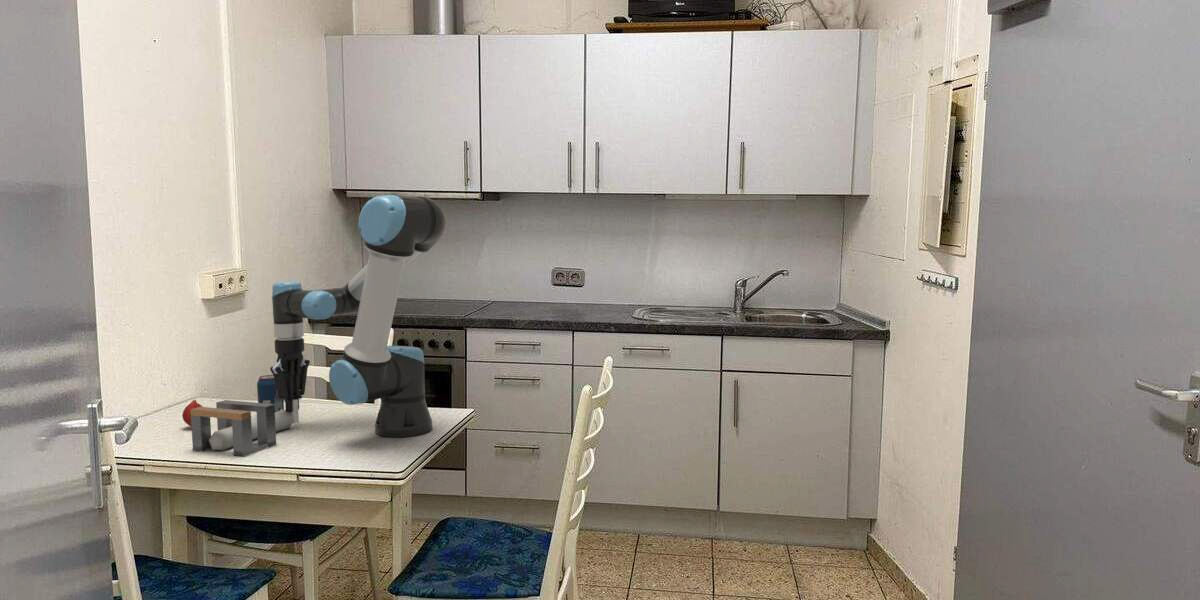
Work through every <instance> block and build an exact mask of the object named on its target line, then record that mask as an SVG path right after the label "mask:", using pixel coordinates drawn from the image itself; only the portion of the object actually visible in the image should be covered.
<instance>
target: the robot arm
mask: <svg viewBox="0 0 1200 600" xmlns="http://www.w3.org/2000/svg"><path fill="white" fill-rule="evenodd" d="M361 208H362V209H361V211H360V213H359V218H358V229H359V230H360V232H359V234H360V236H361V238H362V239H363V240H364V248H366V250H367V251H368V253H369V255H368V261H367V264H366V265H364V267H363V268H362V269H361V270H359V272H357V274H355V276H354V277H352V278H351V279H350V280H349V282H348V283H347V284H345V285H344V286H342V287H337V288H327V289H313V290H309V289H305V290H304V289H303V288H302V283H301V282H300V281H277V282H274V283H273V284H272V290H271V291H272V292H271V293H272V296H271V300H272V302H271V303H272V313H273V314H272V316H273V329H274V331H273V333H274V334H273V335H274V338H275V340H274V353H276V354H277V358H276V364H275V365H274V366H270V367H269V369H270V370H269V371H270V372H271V373H272V375H273V376H274V380H275V384H276V388H277V392H278V397H279V399H282V400H284V409H285V410H286V412H290V413H291V414H292V415H293V423H292V425H293V424H295V425H296V424H298V423H300V418H299V417H300V416H299V414H300V413H299V410H300V400H302V399H303V396H304V395H305V392H306V384H307V377H308V376H307V375H308V368H309V366H310V363H311V361H310V360H309V359H305V358H304V355H303V352H304V351H305V339H304V338H303V337H304V336H305V330H304V319H310V320H315V321H316V320H327V319H330V317H336V316H346V315H357V316H356V320H355V326H354V330H353V335H352V340H351V342H350V343H348V344H347V345H345V346H344V349H343V354H342V358H341V359H338V360H336V361H335V362H334V363H332V364H331V366H330V369H329V373H328V378H329V385H330V387H331V389H332V392H333V393H334V395H335V397H336V398H337V399H338V400H339V401H340V402H342V403H343V404H345V405H348V406H349V405H350V406H352V405H358V404H359V405H361V404H363V405H364V404H365V403H368V402H372V401H375V400H379V399H380V406H379V409H378V413H377V417H376V418H375V419H376V420H375V423H374V433H375V434H376V435H378V436H382V437H387V438H406V437H414V436H419V435H424V434H426V433H429V432H431V431H432V430H433V418H432V417H431V414H430V411H429V408H428V406H427V401H426V383H425V382H426V379H425V378H426V377H425V371H426V369H425V363H426V362H425V358H424V351H423V350H422V349H421V348H420V347H417V346H416V347H415V346H405V345H388V344H389V339H390V336H391V335H390V334H391V330H392V325H393V319H394V315H395V311H396V306H397V301H398V297H399V296H398V295H399V293H400V287H401V282H402V278H403V274H404V269H405V268H406V267H407V266H408V265H409V264H410V263H411V262H412V261H413V260H414V259H415V258H416V257H418V255H419V254H421V253H423V254H425V253H427V252H429V251H430V250H431V249H432V248H433V247H434V246H436V244H437V243H438V242H439V241H440V240H441V238H442V236H443V234H444V232H445V229H446V224H447V223H446V221H447V220H446V215H445V213H444V210H443V209H442V207H441V206H440V205H439V203H438V202H436V201H435V200H433V199H431V198H429V197H426V196H419V195H417V196H413V195H412V196H409V195H408V196H407V195H393V194H387V195H378V196H374V197H372V198H371V199H369V200H368V201H367V202H366V203H365V204H364V205H363V207H361Z"/></svg>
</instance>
